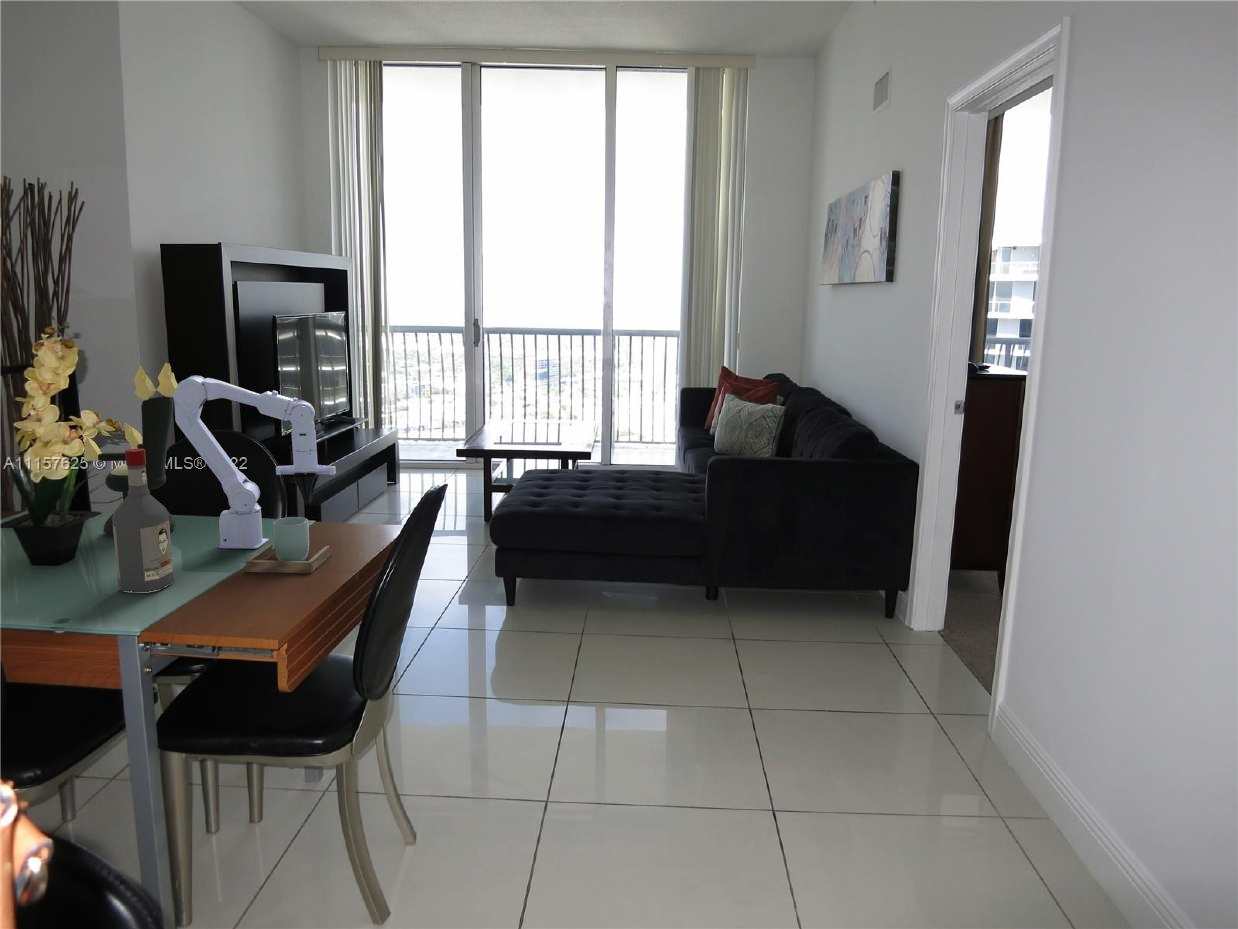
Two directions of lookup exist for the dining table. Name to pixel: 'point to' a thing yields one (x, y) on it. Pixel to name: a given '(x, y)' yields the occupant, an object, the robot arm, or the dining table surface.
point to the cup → (291, 538)
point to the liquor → (141, 533)
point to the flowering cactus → (143, 437)
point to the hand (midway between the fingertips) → (308, 502)
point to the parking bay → (284, 562)
